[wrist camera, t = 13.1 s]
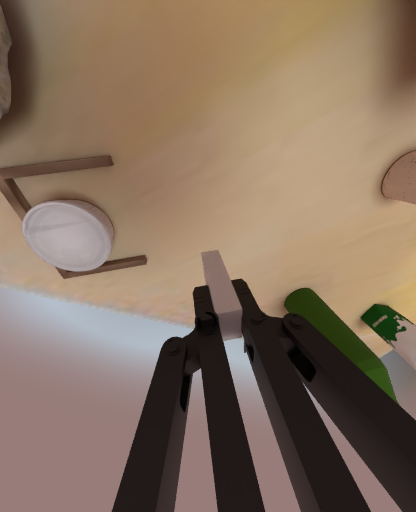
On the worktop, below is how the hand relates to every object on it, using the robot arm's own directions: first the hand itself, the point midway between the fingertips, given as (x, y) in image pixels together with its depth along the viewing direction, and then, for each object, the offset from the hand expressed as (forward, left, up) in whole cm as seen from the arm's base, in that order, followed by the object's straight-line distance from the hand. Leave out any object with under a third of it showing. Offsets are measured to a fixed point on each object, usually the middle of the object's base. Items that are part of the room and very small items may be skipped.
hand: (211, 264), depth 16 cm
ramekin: (+1, -19, -19) cm, 27 cm away
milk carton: (+46, +57, -19) cm, 76 cm away
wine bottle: (+31, +26, -19) cm, 45 cm away
